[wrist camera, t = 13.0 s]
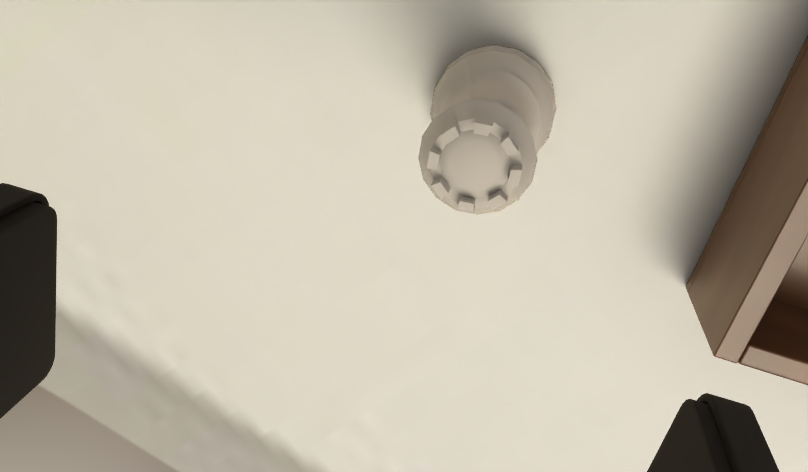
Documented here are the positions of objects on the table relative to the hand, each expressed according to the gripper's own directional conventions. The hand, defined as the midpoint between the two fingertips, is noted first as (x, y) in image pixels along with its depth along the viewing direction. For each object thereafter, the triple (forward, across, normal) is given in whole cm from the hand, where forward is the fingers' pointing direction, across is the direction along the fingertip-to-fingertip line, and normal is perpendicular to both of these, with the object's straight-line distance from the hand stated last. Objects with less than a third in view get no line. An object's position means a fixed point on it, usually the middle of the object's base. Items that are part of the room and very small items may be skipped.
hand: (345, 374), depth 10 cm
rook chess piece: (+18, -1, 0) cm, 18 cm away
